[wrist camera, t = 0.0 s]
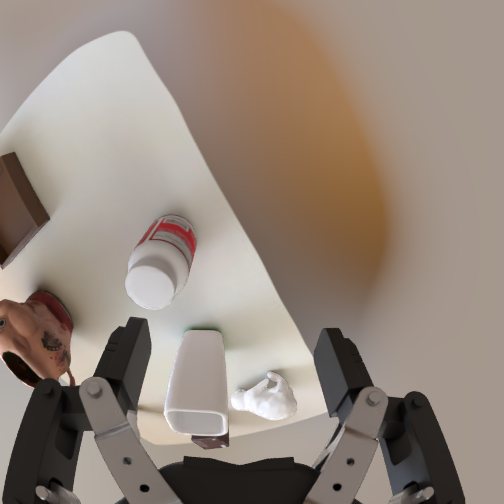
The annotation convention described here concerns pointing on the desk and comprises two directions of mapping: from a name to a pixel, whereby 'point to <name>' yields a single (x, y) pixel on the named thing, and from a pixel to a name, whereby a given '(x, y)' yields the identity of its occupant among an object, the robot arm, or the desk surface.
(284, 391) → the white lumpy curved piece
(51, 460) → the robot arm
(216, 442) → the box
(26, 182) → the tray
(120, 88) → the desk surface
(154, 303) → the pill bottle
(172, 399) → the cup
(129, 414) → the lightbulb
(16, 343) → the pink face mug
